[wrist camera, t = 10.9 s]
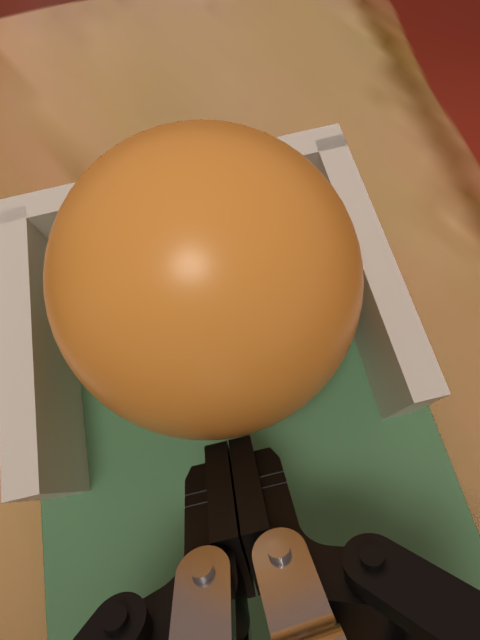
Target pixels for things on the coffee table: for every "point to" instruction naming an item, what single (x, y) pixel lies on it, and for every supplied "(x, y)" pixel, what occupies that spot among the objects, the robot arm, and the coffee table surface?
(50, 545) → the felt strip
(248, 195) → the ball
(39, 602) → the coffee table surface
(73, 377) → the white side walls
